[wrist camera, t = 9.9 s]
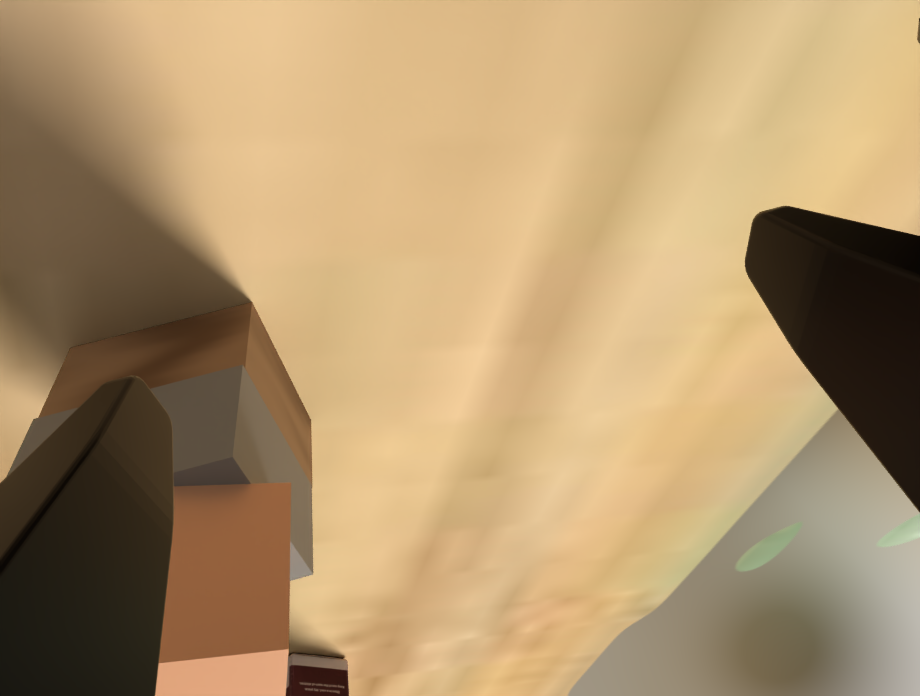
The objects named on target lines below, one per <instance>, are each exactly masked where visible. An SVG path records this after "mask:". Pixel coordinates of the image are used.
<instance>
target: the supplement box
mask: <svg viewBox="0 0 920 696" xmlns="http://www.w3.org/2000/svg"><path fill="white" fill-rule="evenodd" d="M286 696H349V688H348V664H347V660H346V659H340V658H333V657H326V656H317V655H306V654H295V653H293V654H291V655H290V656H289V657H288V667H287V682H286Z"/></svg>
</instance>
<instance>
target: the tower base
mask: <svg viewBox="0 0 920 696" xmlns="http://www.w3.org/2000/svg"><path fill="white" fill-rule="evenodd" d="M239 365H243V366H244V368H245V369H246V371H247V373H248V375H249V376H250V378H251V380H252V382H253V383H254V385H255V387H256V389H257V390H258V392H259V394H260V396H261V397H262V399H263V401H264V403H265V404H266V406H267V408H268V410H269V411H270V413H271V415H272V417H273V418H274V420H275V422H276V424H277V425H278V427H279V429H280V431H281V432H282V434H283V436H284V438H285V439H286V441H287V443H288V445H289V446H290V448H291V450H292V452H293V454H294V455H295V457H296V459H297V461H298V462H299V464H300V466H301V468H302V469H303V471H304V473H305V475H306V476H307V478H308V480H309V482H310V483H311V485H312V445H311V419H310V417H309V415H308V413H307V411H306V409H305V407H304V405H303V403H302V401H301V399H300V397H299V395H298V393H297V391H296V389H295V387H294V385H293V383H292V381H291V379H290V377H289V375H288V373H287V371H286V369H285V367H284V365H283V363H282V361H281V359H280V357H279V355H278V353H277V351H276V349H275V347H274V345H273V343H272V341H271V339H270V337H269V335H268V333H267V331H266V329H265V327H264V325H263V323H262V321H261V319H260V317H259V315H258V313H257V311H256V309H255V307H254V305H253V303H252V302H250V303H247V304H243V305H239V306H235V307H231V308H227V309H223V310H219V311H215V312H211V313H207V314H203V315H199V316H195V317H191V318H187V319H183V320H179V321H175V322H171V323H167V324H163V325H159V326H155V327H151V328H147V329H143V330H139V331H135V332H131V333H127V334H123V335H119V336H115V337H112V338H108V339H104V340H100V341H96V342H92V343H88V344H84V345H80V346H76V347H72V348H70V350H69V352H68V354H67V357H66V359H65V361H64V363H63V365H62V367H61V369H60V372H59V374H58V376H57V378H56V380H55V382H54V385H53V387H52V389H51V391H50V393H49V395H48V398H47V400H46V402H45V404H44V406H43V408H42V411H41V413H40V415H39V417H38V418H40V417H44V416H48V415H51V414H55V413H59V412H63V411H67V410H71V409H74V408H78V407H80V406H81V405H82V404H83V403H84V402H85V401H86V400H87V399H88V398H89V397H90V396H91V395H92V394H93V393H94V392H95V391H96V390H97V389H98V388H99V387H100V386H101V385H102V384H104V383H106V382H108V381H111V380H115V379H119V378H123V377H127V376H130V375H134V376H138V377H140V378H141V379H142V380H143V381H144V382H145V383H146V384H147V386H148V387H149V388H150V389H151V388H155V387H159V386H163V385H166V384H170V383H174V382H178V381H182V380H186V379H189V378H193V377H197V376H201V375H205V374H209V373H212V372H216V371H220V370H224V369H228V368H232V367H235V366H239Z"/></svg>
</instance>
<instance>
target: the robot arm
mask: <svg viewBox="0 0 920 696" xmlns="http://www.w3.org/2000/svg"><path fill="white" fill-rule="evenodd" d="M917 40H918V42H919V43H920V18H919V25H918V37H917ZM745 268H746V272H747V275H748V277H749V279H750V280H751V282H752V284H753V285H754V287H755V289H756V290H757V292H758V293H759V295H760V297H761V298H762V300H763V302H764V303H765V305H766V307H767V308H768V310H769V311H770V313H771V315H772V316H773V318H774V320H775V321H776V323H777V325H778V326H779V328H780V329H781V331H782V333H783V334H784V336H785V338H786V339H787V341H788V342H789V344H790V345H791V347H792V348H793V350H794V352H795V353H796V354H797V356H798V357H799V359H800V360H801V361H802V363H803V364H804V365H805V367H806V368H807V369H808V371H809V372H810V373H811V374H812V376H813V377H814V378H815V379H816V381H817V382H818V383H819V385H820V386H821V387H822V388H823V390H824V391H825V392H826V394H827V395H828V396H829V397H830V399H831V400H832V401H833V402H834V404H835V405H836V406H837V408H838V409H839V410H840V411H841V413H842V414H843V415H844V416H845V418H846V419H847V420H848V422H849V423H850V424H851V425H852V427H853V428H854V429H855V431H856V432H857V433H858V434H859V436H860V437H861V438H862V439H863V441H864V442H865V443H866V445H867V446H868V447H869V448H870V450H871V451H872V452H873V453H874V455H875V456H876V457H877V459H878V460H879V461H880V462H881V464H882V465H883V466H884V468H885V469H886V470H887V471H888V473H889V474H890V475H891V476H892V478H893V479H894V480H895V482H896V483H897V484H898V485H899V487H900V488H901V489H902V491H903V492H904V493H905V494H906V496H907V497H908V498H909V499H910V501H911V502H912V503H913V505H914V506H915V507H916V508H917V510H918V511H919V512H920V236H917V235H913V234H909V233H904V232H900V231H896V230H891V229H887V228H882V227H878V226H874V225H869V224H865V223H861V222H856V221H852V220H847V219H843V218H839V217H834V216H830V215H826V214H821V213H817V212H813V211H808V210H804V209H799V208H795V207H791V206H781V207H777V208H773V209H769V210H766V211H762V212H760V213H758V214H757V215H756V216H755V218H754V219H753V222H752V226H751V231H750V236H749V241H748V247H747V252H746V257H745ZM173 525H174V482H173V428H172V422H171V419H170V417H169V415H168V413H167V411H166V410H165V409H164V407H163V406H162V405H161V403H160V402H159V401H158V399H157V398H156V397H155V395H154V394H153V392H152V391H151V390H150V388H149V387H148V386H147V384H146V383H145V382H144V381H143V380H142V379H141V378H140V377H138V376H134V375H130V376H127V377H123V378H119V379H115V380H111V381H108V382H106V383H104V384H102V385H101V386H100V387H99V388H98V389H97V390H96V391H95V392H94V393H93V394H92V395H91V396H90V397H89V398H88V399H87V400H86V401H85V402H84V403H83V404H82V405H81V406H80V407H78V408H77V409H76V410H75V411H74V412H73V413H72V414H71V415H70V416H69V417H68V418H67V419H66V420H65V421H64V422H63V423H62V424H61V425H60V426H59V427H58V428H57V429H56V430H55V431H54V432H53V433H52V434H51V435H50V436H48V437H47V438H46V439H45V440H44V441H43V442H42V443H41V444H40V445H39V446H38V447H37V448H36V449H35V450H34V451H33V452H32V453H31V454H30V455H29V456H28V457H27V458H26V459H25V460H24V461H23V462H22V463H21V464H20V465H18V466H17V467H16V468H15V469H14V470H13V471H12V472H11V473H10V474H9V475H8V476H7V477H6V478H5V479H4V480H3V481H2V482H1V483H0V696H155V693H156V684H157V675H158V666H159V657H160V648H161V638H162V629H163V620H164V611H165V602H166V593H167V584H168V574H169V565H170V556H171V547H172V537H173Z"/></svg>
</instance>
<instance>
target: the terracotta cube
mask: <svg viewBox="0 0 920 696" xmlns="http://www.w3.org/2000/svg"><path fill="white" fill-rule="evenodd" d="M290 528H291V482H290V483H259V484H231V485H200V486H174V525H173V537H172V547H171V556H170V565H169V574H168V584H167V593H166V602H165V611H164V620H163V629H162V638H161V648H160V657H159V666H158V675H157V684H156V693H155V696H286V682H287V667H288V652H289V596H290Z"/></svg>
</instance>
